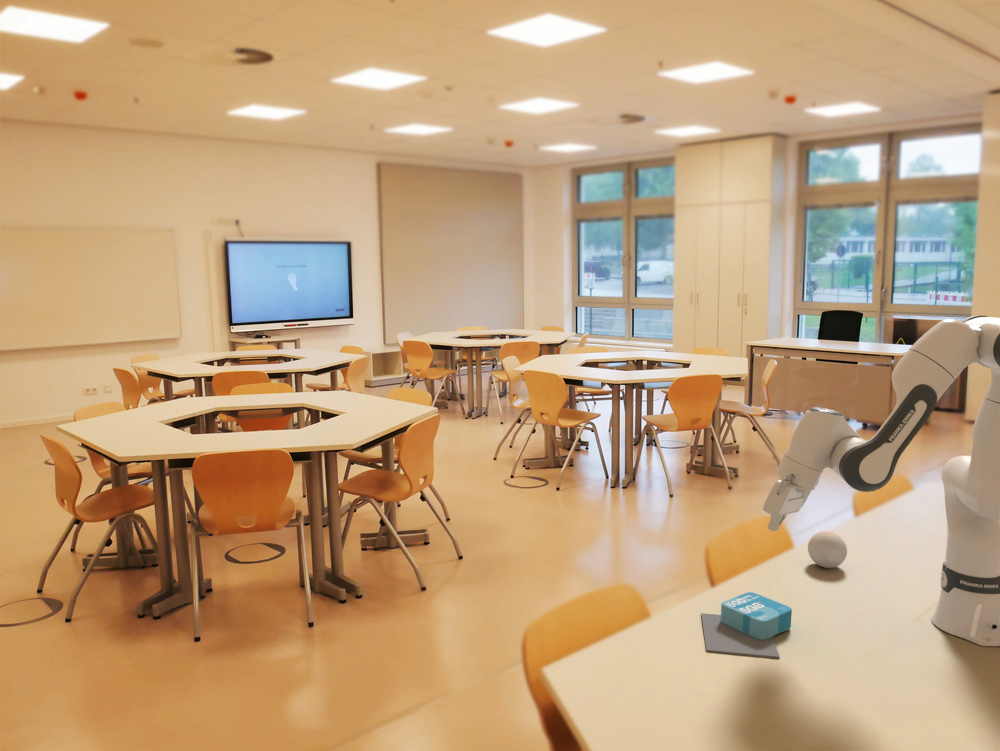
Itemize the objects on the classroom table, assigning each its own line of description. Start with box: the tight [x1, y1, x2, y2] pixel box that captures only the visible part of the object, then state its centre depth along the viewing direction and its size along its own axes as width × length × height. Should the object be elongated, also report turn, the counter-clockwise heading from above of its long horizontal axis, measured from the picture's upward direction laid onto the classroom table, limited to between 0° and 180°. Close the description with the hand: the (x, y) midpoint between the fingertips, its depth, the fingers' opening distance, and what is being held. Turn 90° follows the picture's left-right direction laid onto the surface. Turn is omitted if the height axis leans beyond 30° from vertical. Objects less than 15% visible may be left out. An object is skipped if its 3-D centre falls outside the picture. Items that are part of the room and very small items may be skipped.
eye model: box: [807, 530, 848, 569], centre depth 213 cm, size 10×10×10 cm
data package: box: [720, 591, 793, 640], centre depth 178 cm, size 12×4×12 cm
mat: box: [700, 612, 781, 659], centre depth 173 cm, size 15×18×1 cm
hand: (772, 529), depth 175 cm, fingers closed
